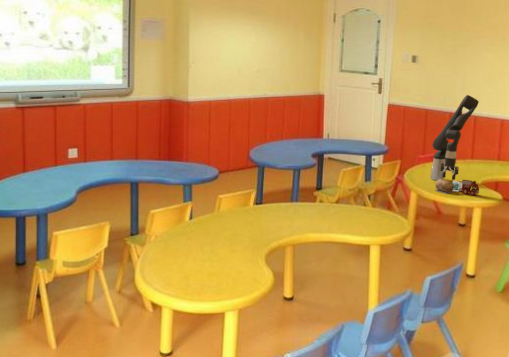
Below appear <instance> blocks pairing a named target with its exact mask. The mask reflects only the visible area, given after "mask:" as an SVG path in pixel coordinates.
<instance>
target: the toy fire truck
mask: <svg viewBox="0 0 509 357" xmlns="http://www.w3.org/2000/svg"><path fill="white" fill-rule="evenodd" d="M461 183H462V191H461V192H462V194H463V195H464V196H465V195H467V194H469V195H470V196H471V197H474V196H475V195H478V194H479V193H480V187H479V184H478V183H477V181H476V180H470V179H462V180H461Z"/></svg>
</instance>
